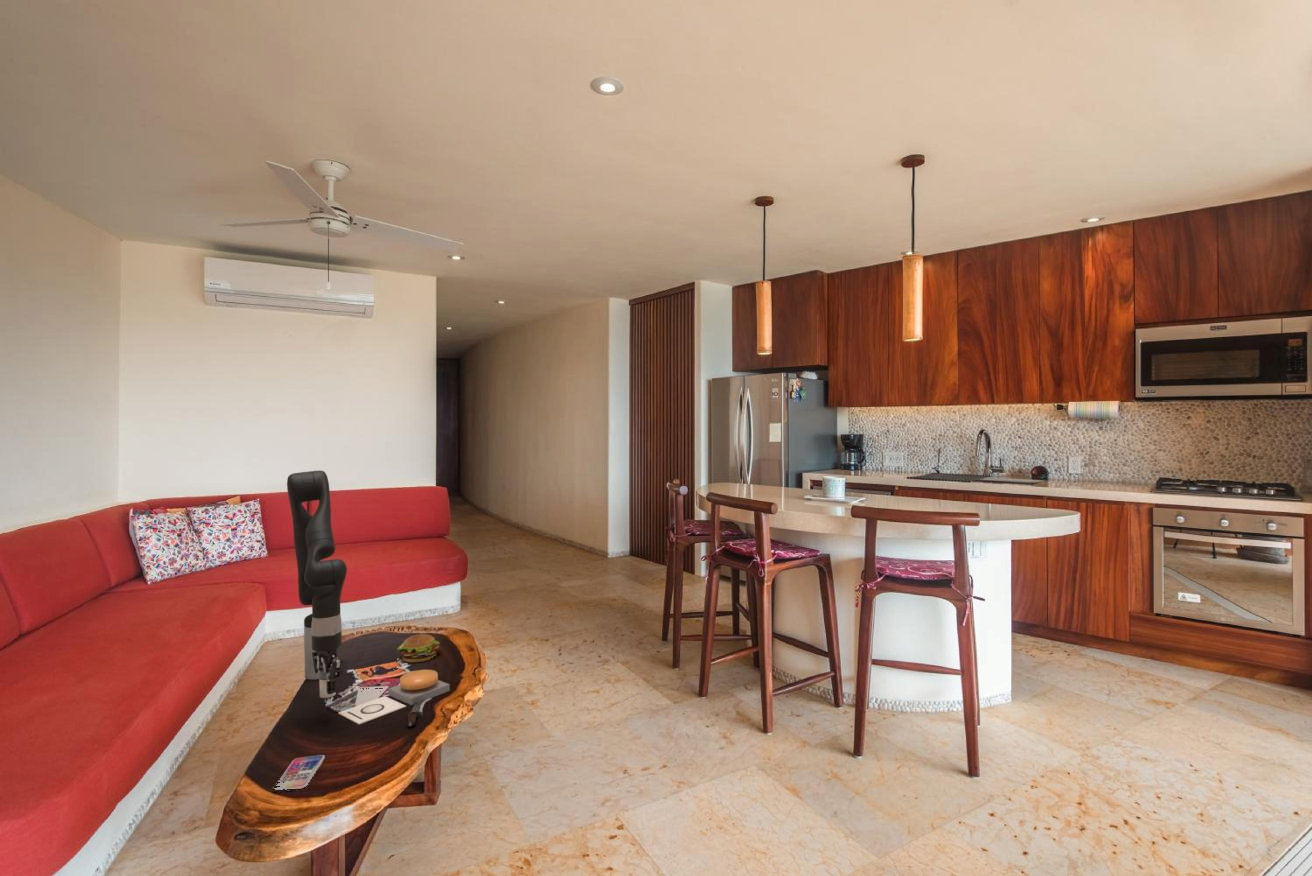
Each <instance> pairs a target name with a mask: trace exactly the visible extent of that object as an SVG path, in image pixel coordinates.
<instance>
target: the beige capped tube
mask: <svg viewBox="0 0 1312 876" xmlns="http://www.w3.org/2000/svg"><path fill="white" fill-rule="evenodd" d="M327 669H331V668H327ZM330 673H331V672H330ZM318 680H319V683H318V685H319V684H320V689H319V698H321V699H328V698H331V697H334V696H335V695H336V693H337V691H336V692H335V693H332V694H327V678H326V673H324V670H320V671H319V679H318Z"/></svg>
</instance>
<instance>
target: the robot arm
mask: <svg viewBox="0 0 1312 876" xmlns="http://www.w3.org/2000/svg"><path fill="white" fill-rule="evenodd" d="M286 486H287V487H286V489H287V495H288V499H289V500H288V501H289V506H290V512H291V516H292V517H291V518H292V530H293V531H292V532H293V543H294V551H295V552H294V553H295V558H296V565H297V587H298V589H297V591H298V592H297V593H298V600H299V602H300V604H301V605H302V606H311V611H312V612H311V613H310V614H308V615H307V616H305V617H304V618H303V632H304V633H303V640H304V678H305V679H307V680H319V671H320V670H324V673H326V678H327V694H332V693H335V692H336V693H337V680H338V679H341V676H342V670H343V664H344V660H343V659H342V658H340V659H339V657H338V651H337V650H338V648H340V647H341V646H342V645H343V639H342V638H343V637H342V636H343V635H342V634H343V633H342V627H343V626H342V617H341V615H342V614H341V596H342V591H343V588H344V587H343V586H344V584H345V580H346V577H347V571H348V568H347V563H345V561H344V560H343V559H341V558H335V559H334V558H333V559H328V558H330V557H331V556H333V555H334V554H335V553H336V545H335V540H334V534H333V527H332V509H331V508H332V506H331V491H330V484H329V478H328V475H327V473H326V472H325V471H324V470H312V471H311V470H310V471H309V470H308V471H301V472H294V473H291V474H289V475H288V476H287V481H286ZM313 501H319V502H318V506H317V508H316V510H315V512H314V514H313V515H311V514H310V512H309V511H308V510H307V509H306V508H305V506H304V504H303V503H306V502H313ZM326 559H327V560H326ZM327 668H331V669H327ZM330 672H331V673H330ZM318 686H319V687H318V688H319V690H320V684H319V683H318Z"/></svg>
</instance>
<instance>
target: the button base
mask: <svg viewBox="0 0 1312 876" xmlns="http://www.w3.org/2000/svg"><path fill="white" fill-rule="evenodd" d="M450 689H451V685H450V683H447V682H444V681H442V680H439V679H438V681H437V683H435V684H434V685H432V686H430V687H427V688H423V689H417V690H407V689H403V688H401V687H400V684H397V685H395V686H391V687H389V688H388V689H387V691H388V696H390V697H392V698H394V699H395V700H398V701H401V702H403V703H406V704H408V705H410V706H414V704H415V703H417V702H421V701H423V700H426V699H429V698H435V697H437V696H440V695H443V694H445V693H447V692H450Z"/></svg>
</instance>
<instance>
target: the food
mask: <svg viewBox="0 0 1312 876" xmlns="http://www.w3.org/2000/svg"><path fill="white" fill-rule="evenodd" d="M435 639H436V638H435V637H434V636H432V635H430V634H425V633H424V634H421V633H420V634H416V635H415V634H414V635H411V636H409V637H407V638H406V639H405V640H404V641H403V643H401V645H399V647H397V653H398V654H400V655H401V654H402V656H401V658H402V660H403V662H405V663H406V662H407V663H420V662H421V663H422V662H426V661H429V660H431V658H432V659H433V657H434V656H435V657H436V656H437V653H438V652H439V649H440V643H441V642H440V641H438V640H435ZM435 657H434V658H435Z"/></svg>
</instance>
